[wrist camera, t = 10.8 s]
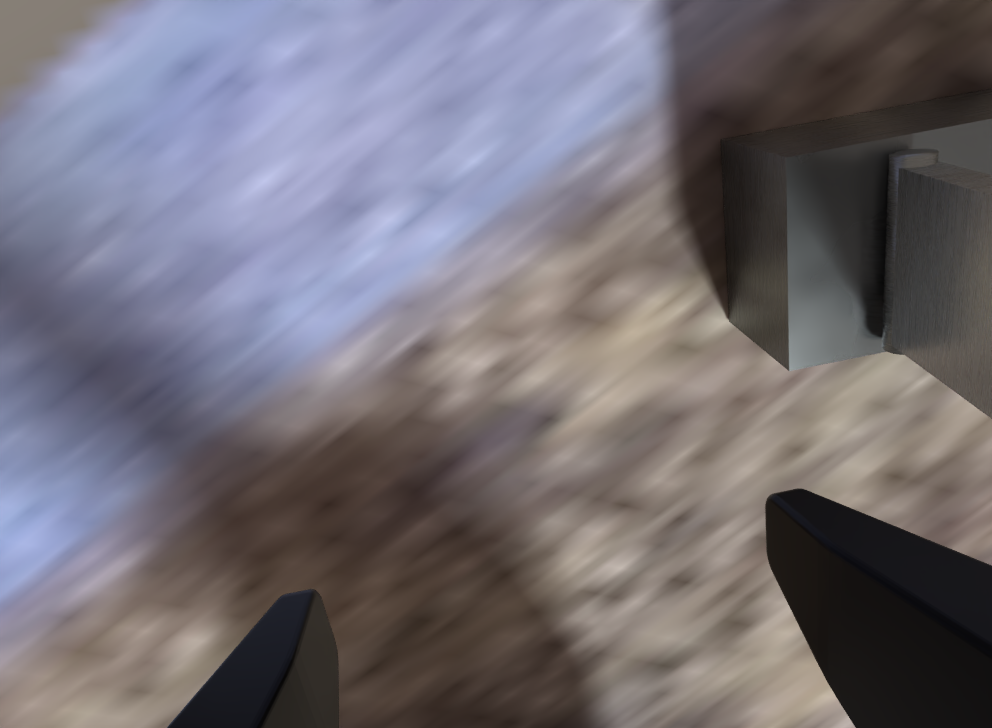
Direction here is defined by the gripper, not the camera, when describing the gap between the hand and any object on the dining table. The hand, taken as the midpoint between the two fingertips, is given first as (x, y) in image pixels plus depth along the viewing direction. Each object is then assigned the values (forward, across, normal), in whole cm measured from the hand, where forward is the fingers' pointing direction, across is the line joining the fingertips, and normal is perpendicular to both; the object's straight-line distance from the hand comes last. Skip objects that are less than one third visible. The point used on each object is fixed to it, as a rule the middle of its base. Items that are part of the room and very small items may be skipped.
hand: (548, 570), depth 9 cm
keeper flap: (+8, -10, 0) cm, 12 cm away
